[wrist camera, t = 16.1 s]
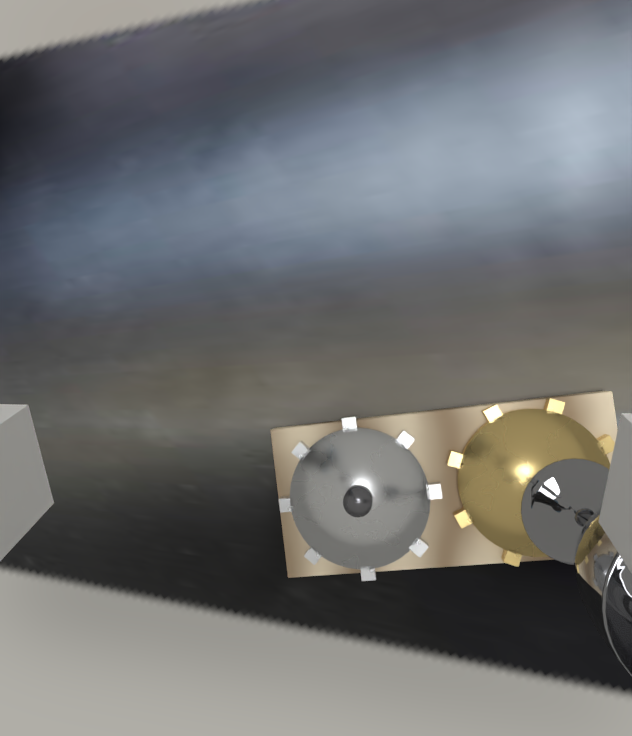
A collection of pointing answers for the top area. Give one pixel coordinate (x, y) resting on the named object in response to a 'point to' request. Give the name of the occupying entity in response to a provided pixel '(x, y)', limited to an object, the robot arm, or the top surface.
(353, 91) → the top surface
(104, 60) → the top surface
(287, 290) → the top surface
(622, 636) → the wine glass
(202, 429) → the top surface
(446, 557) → the gear board
